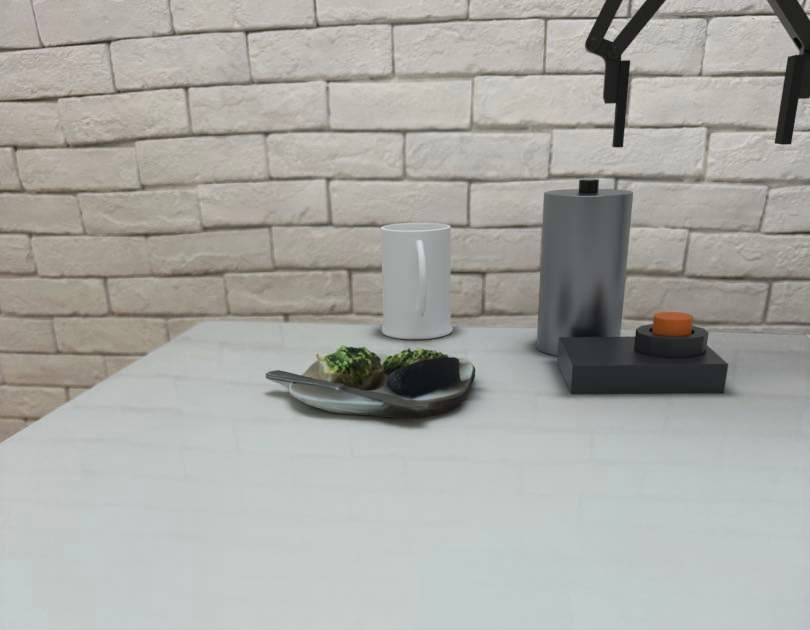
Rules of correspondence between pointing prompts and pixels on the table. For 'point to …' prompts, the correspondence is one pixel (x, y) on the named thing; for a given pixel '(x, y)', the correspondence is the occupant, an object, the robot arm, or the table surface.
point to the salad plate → (382, 382)
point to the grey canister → (582, 263)
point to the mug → (416, 280)
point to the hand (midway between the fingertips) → (698, 146)
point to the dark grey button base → (642, 363)
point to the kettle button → (672, 324)
